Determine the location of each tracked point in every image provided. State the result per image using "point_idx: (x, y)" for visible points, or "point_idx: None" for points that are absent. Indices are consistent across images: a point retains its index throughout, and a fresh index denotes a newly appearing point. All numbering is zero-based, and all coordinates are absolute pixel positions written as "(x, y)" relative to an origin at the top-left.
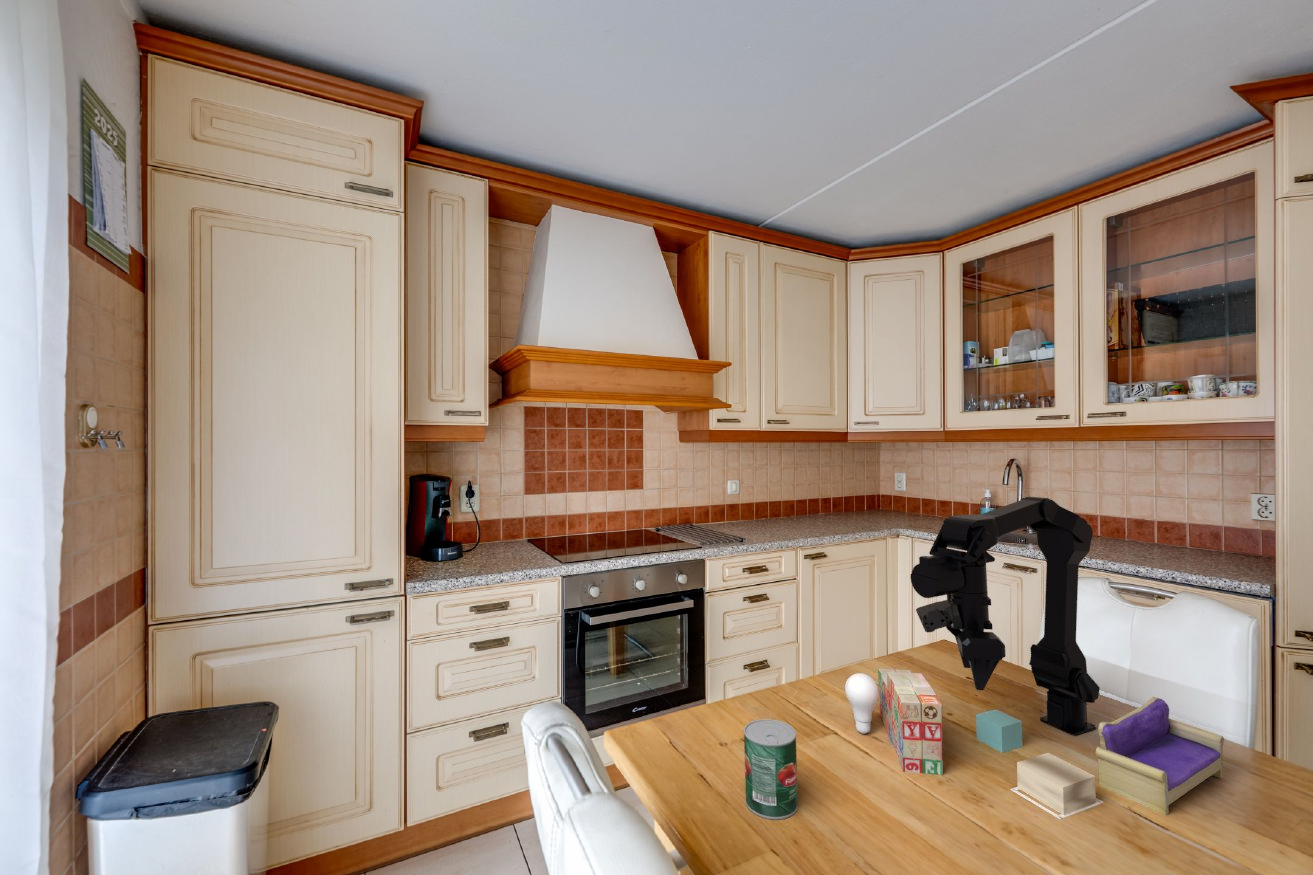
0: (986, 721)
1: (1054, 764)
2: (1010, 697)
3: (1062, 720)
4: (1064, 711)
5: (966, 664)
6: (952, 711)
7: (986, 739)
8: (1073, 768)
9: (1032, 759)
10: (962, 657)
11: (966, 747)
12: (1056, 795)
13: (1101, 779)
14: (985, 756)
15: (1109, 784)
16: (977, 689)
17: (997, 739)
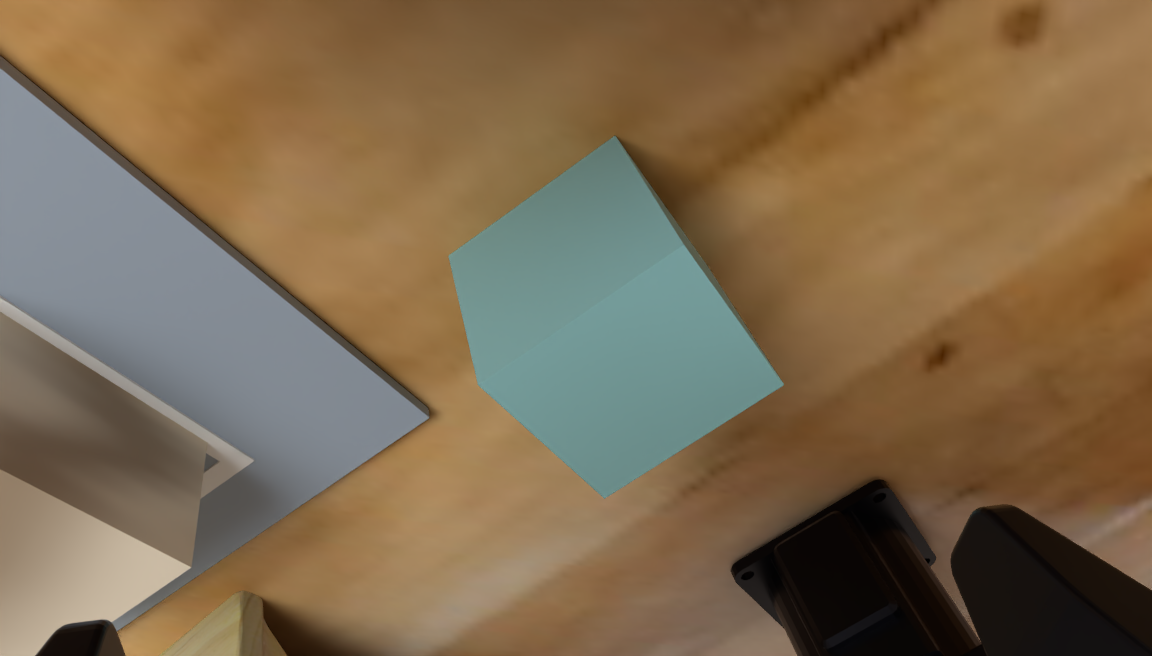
0: (588, 295)
1: (14, 582)
2: (1133, 397)
3: (790, 584)
4: (809, 633)
5: (997, 568)
6: (1054, 54)
7: (558, 212)
8: (18, 650)
9: (6, 491)
10: (1101, 631)
11: (508, 42)
12: None
13: (230, 636)
14: (401, 151)
15: (209, 648)
16: (56, 637)
17: (490, 290)
